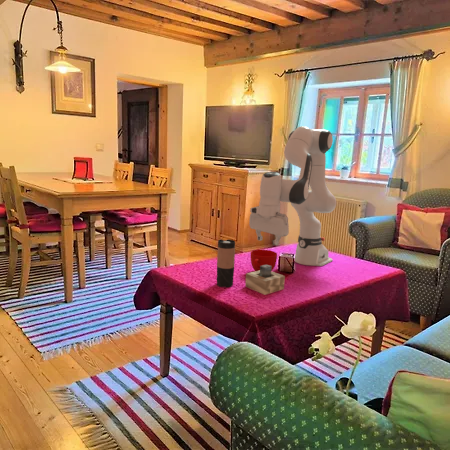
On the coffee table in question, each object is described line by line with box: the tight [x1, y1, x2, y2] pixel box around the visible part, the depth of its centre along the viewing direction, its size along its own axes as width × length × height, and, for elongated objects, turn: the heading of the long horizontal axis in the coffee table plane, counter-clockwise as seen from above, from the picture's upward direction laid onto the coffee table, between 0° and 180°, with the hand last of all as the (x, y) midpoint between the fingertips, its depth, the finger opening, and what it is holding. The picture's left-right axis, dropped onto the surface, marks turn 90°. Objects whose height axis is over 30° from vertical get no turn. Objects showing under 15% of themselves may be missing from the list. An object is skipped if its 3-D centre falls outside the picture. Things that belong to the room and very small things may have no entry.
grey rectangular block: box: [260, 265, 272, 278], centre depth 176 cm, size 4×3×10 cm
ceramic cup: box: [250, 249, 278, 272], centre depth 196 cm, size 13×17×10 cm
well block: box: [245, 270, 286, 296], centre depth 177 cm, size 12×12×6 cm
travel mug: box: [216, 238, 236, 288], centre depth 177 cm, size 8×8×20 cm
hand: (267, 242), depth 173 cm, fingers open, 8 cm apart
